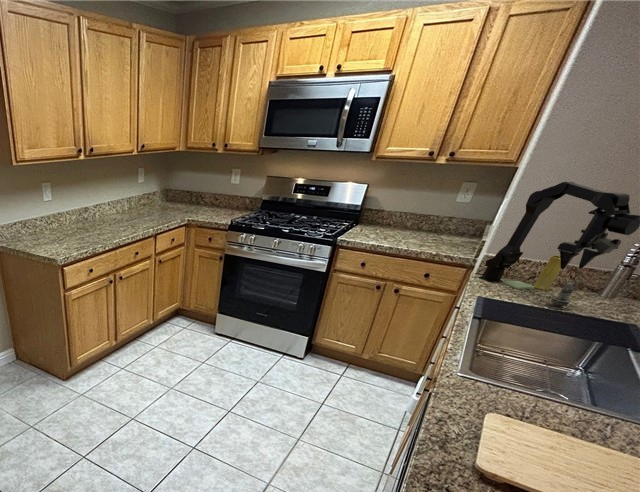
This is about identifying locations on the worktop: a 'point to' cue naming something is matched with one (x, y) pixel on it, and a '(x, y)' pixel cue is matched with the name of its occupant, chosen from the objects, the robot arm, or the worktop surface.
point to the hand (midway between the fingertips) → (571, 268)
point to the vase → (548, 273)
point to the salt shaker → (563, 296)
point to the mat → (518, 285)
